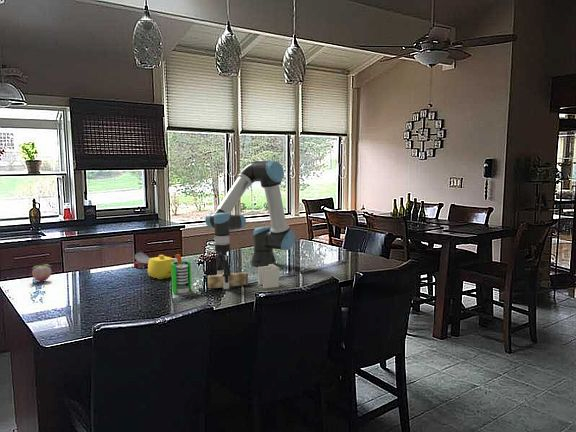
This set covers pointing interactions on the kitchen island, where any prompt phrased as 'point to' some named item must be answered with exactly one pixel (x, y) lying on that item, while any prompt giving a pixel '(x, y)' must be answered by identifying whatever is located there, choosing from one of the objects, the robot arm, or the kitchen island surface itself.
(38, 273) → the decorative fruit
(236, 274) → the rail
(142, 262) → the canned food
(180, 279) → the green-shelled ribbed roller
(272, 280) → the white stepped block
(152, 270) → the teapot
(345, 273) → the kitchen island surface
